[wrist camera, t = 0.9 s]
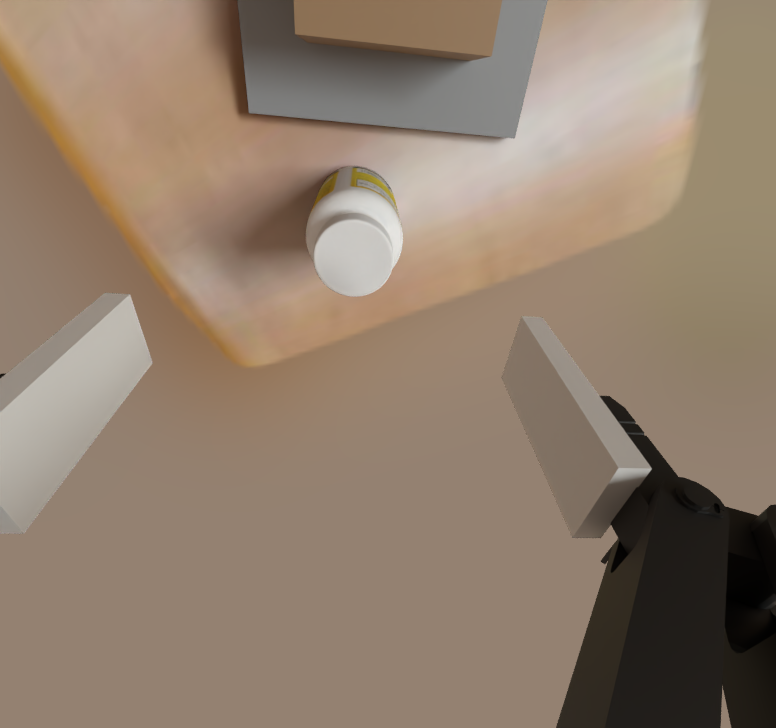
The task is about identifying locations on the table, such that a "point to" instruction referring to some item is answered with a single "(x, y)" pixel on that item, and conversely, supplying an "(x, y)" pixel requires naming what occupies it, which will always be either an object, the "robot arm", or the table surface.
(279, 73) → the base
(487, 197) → the table surface
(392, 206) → the supplement bottle
